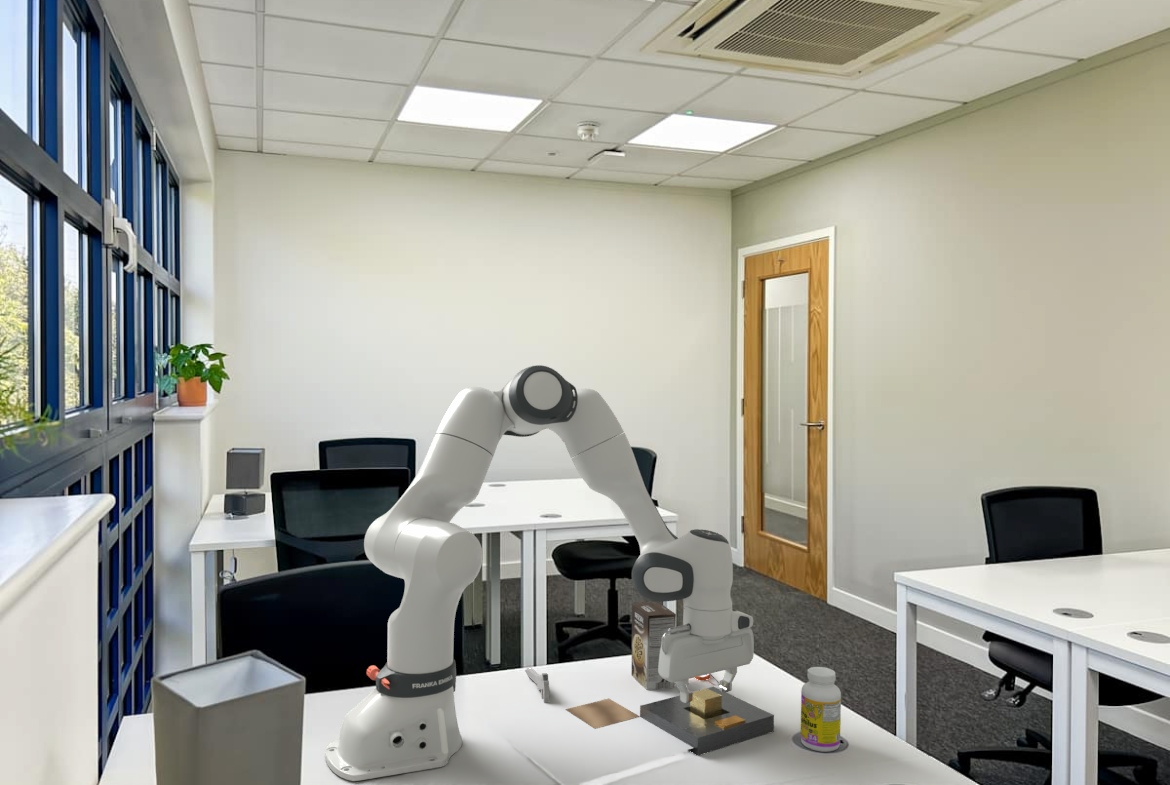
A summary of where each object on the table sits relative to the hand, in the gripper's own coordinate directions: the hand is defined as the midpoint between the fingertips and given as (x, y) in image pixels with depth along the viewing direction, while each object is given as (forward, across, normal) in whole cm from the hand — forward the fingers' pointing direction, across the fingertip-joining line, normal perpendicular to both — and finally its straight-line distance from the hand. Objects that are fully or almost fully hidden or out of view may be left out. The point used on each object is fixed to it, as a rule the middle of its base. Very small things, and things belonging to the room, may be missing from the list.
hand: (706, 696), depth 149 cm
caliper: (+6, -17, +32) cm, 37 cm away
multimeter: (+6, +16, +18) cm, 25 cm away
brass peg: (+6, 0, 0) cm, 6 cm away
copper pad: (+6, -14, +13) cm, 20 cm away
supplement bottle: (+6, +12, -16) cm, 21 cm away
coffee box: (+6, +4, +21) cm, 22 cm away
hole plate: (+6, 0, 0) cm, 6 cm away
